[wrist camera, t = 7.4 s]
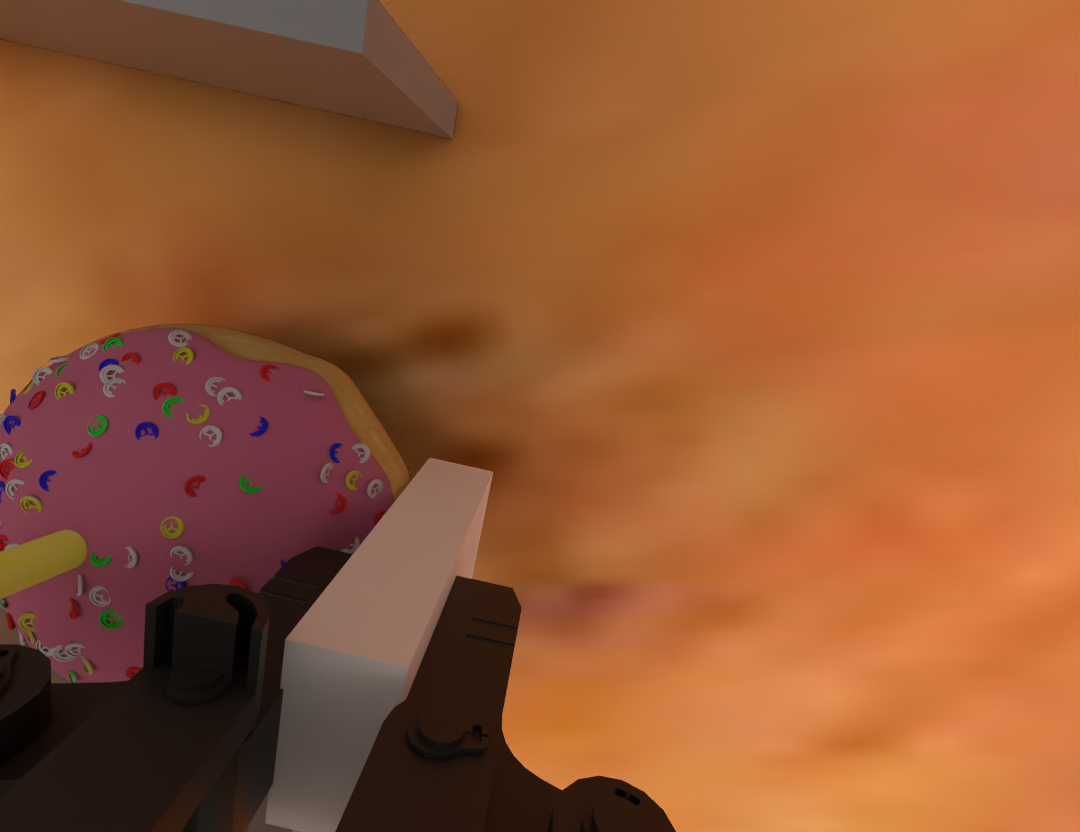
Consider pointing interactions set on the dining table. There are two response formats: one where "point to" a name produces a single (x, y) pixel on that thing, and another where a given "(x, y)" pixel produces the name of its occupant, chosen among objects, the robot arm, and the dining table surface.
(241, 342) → the cupcake
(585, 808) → the robot arm
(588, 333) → the dining table surface
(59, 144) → the dining table surface
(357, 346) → the dining table surface
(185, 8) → the box
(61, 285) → the dining table surface
